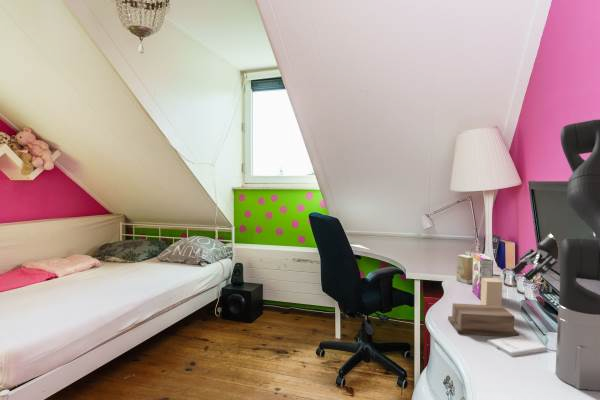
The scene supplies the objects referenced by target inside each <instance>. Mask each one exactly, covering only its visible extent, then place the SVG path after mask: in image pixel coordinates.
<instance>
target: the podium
mask: <svg viewBox="0 0 600 400" xmlns="http://www.w3.org/2000/svg"><path fill="white" fill-rule="evenodd" d="M451 308H452V310H451V311H452V313H451V314H452V315H450V316H449V315H448V316H447V317H448V318H447V320H448V322H449V323H450V325H452V327H453V328H454V330H455V331H456V333H457V334H458V335H472V336H473V335H474V336H487V337H501V338H506V337H513V336H520V334H519V332H518V331H517V330H516V329H515V316H514V315H513V314H512V313H511V312H509V311H508V310H507V309H506V308H505V307H503V306H495V305H481V304H473V303H453V302H452V307H451Z"/></svg>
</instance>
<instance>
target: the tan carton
mask: <svg viewBox="0 0 600 400" xmlns="http://www.w3.org/2000/svg"><path fill="white" fill-rule="evenodd" d="M480 305H495V306H502V305H503V281H501V280H499V279H498V278H497V277H496V278H494V277H493V278H482V282H481V300H480ZM502 307H503V306H502Z"/></svg>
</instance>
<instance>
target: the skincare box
mask: <svg viewBox="0 0 600 400" xmlns="http://www.w3.org/2000/svg"><path fill="white" fill-rule="evenodd" d="M456 259H457V261H456V263H457V264H456V275H455V276H456V278H455V279H456V281H458V282H461V283H464V284H466V285H468V284H472V282H473V255H469V254H468V255H467V254H457V258H456Z"/></svg>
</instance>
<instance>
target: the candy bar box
mask: <svg viewBox="0 0 600 400" xmlns="http://www.w3.org/2000/svg"><path fill="white" fill-rule="evenodd" d="M472 257H473V282H472V283H471V284H472V286H471V287H472V288H471V289H472V290H471V291H472V293H473V294H474V295H475V296H476V297H477V298H478V300H480V301H481V282H482V278H494V259H493V258H491V257H490V256H488V255H487V254H486V253H473V254H472Z"/></svg>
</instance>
